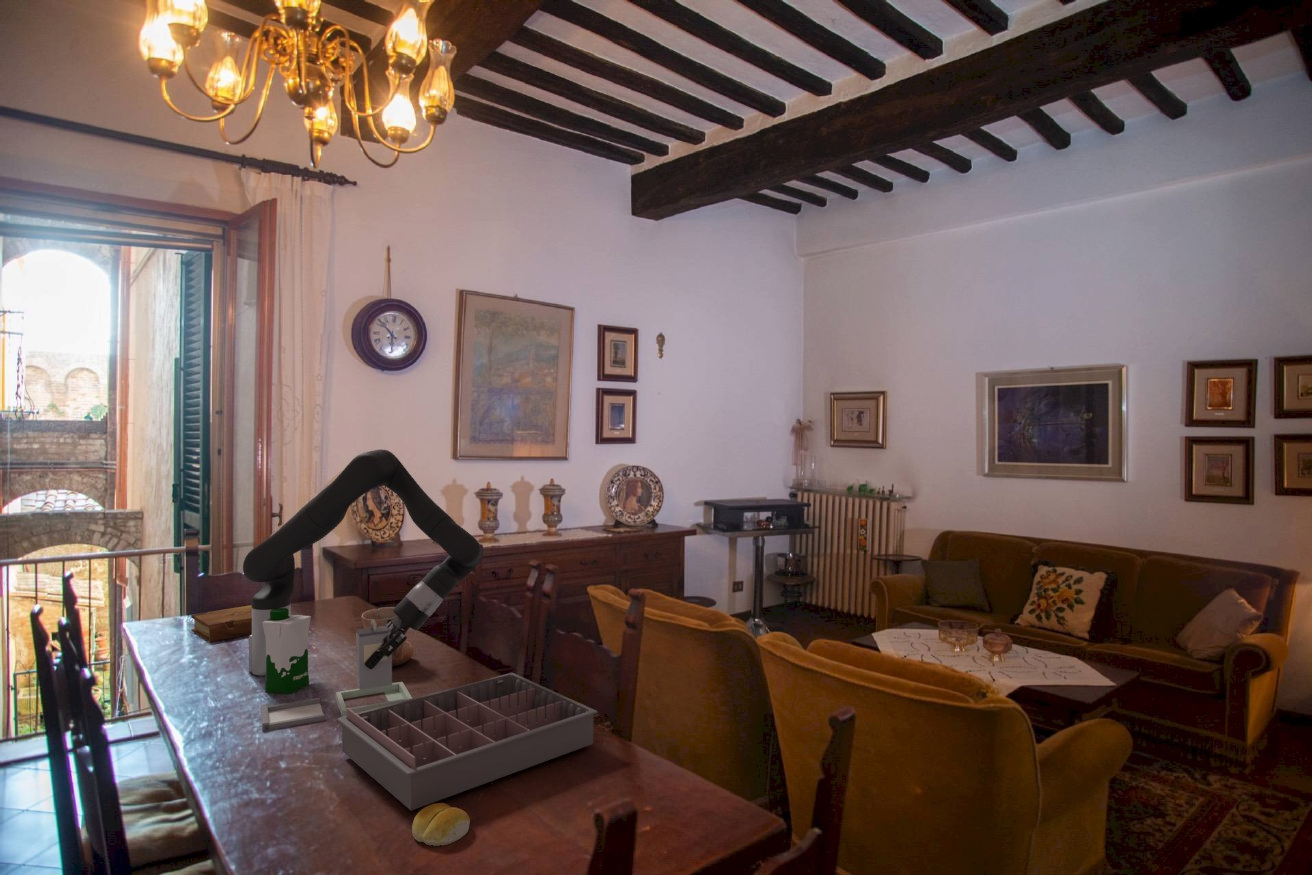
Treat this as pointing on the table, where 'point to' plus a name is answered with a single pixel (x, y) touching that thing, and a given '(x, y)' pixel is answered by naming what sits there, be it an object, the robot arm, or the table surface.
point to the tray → (392, 693)
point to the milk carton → (286, 651)
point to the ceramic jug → (381, 617)
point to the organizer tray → (464, 736)
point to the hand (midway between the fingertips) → (365, 663)
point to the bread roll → (440, 824)
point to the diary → (223, 623)
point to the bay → (291, 714)
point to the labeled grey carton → (365, 648)
